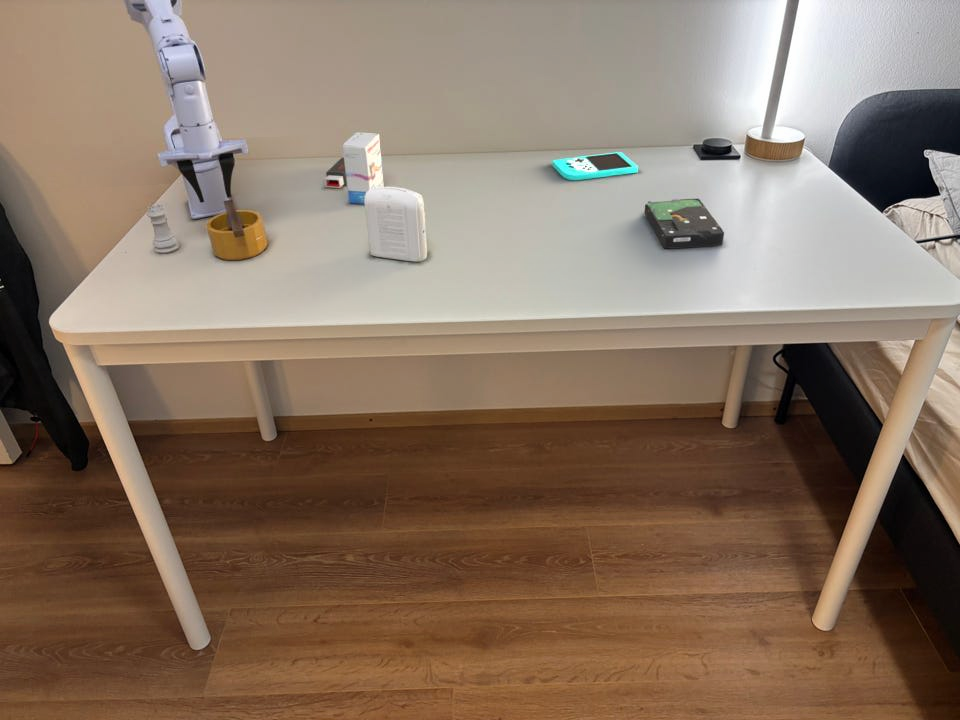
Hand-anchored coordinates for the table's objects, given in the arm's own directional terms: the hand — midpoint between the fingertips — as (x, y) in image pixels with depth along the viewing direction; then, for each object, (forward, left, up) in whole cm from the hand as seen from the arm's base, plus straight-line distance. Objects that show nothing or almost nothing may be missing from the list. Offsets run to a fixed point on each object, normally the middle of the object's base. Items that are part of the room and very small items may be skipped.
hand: (215, 198), depth 132 cm
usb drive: (-19, +27, -8) cm, 34 cm away
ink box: (-7, +29, -8) cm, 31 cm away
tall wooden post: (+6, +2, -6) cm, 9 cm away
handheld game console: (+1, +77, -8) cm, 77 cm away
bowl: (+6, +2, -8) cm, 10 cm away
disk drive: (+34, +76, -8) cm, 84 cm away
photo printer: (+21, +27, -8) cm, 35 cm away
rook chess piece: (0, -10, -8) cm, 13 cm away
